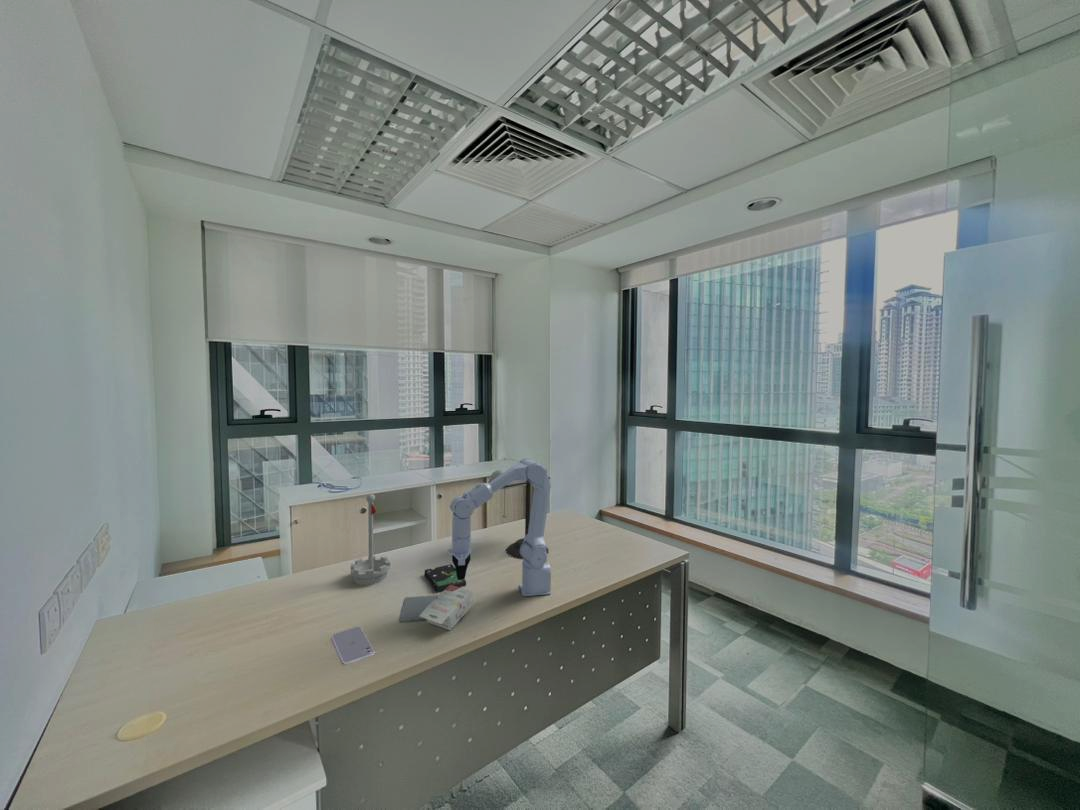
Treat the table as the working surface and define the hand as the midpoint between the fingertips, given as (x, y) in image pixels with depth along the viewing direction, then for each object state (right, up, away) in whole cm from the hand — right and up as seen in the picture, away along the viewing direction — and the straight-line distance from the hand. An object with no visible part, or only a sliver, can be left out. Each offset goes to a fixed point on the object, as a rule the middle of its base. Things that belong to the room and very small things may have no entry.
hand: (461, 578), depth 133 cm
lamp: (+17, -7, +48) cm, 51 cm away
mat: (-9, -8, -1) cm, 13 cm away
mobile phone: (-25, -10, -21) cm, 34 cm away
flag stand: (-35, -7, +18) cm, 40 cm away
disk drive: (-9, -8, +17) cm, 21 cm away
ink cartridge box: (+1, -4, -2) cm, 4 cm away
